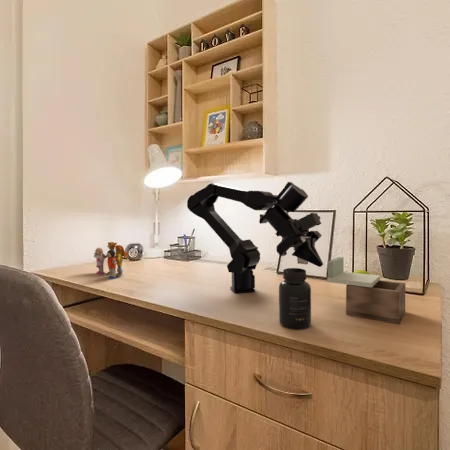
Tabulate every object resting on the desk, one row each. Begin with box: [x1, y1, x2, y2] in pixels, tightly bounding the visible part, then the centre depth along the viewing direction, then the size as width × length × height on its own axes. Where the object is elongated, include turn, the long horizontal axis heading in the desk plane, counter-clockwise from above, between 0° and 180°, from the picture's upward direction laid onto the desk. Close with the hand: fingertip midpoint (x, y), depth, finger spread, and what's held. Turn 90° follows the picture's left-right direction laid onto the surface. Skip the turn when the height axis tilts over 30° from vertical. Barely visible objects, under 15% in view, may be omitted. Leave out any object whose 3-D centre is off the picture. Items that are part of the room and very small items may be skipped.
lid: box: [326, 256, 381, 288], centre depth 75 cm, size 10×10×5 cm
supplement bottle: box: [278, 267, 312, 330], centre depth 66 cm, size 7×7×12 cm
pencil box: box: [345, 279, 406, 325], centre depth 72 cm, size 11×10×7 cm
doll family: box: [93, 241, 130, 280], centre depth 124 cm, size 21×10×13 cm, turn 42°
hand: (321, 265), depth 80 cm, fingers closed
